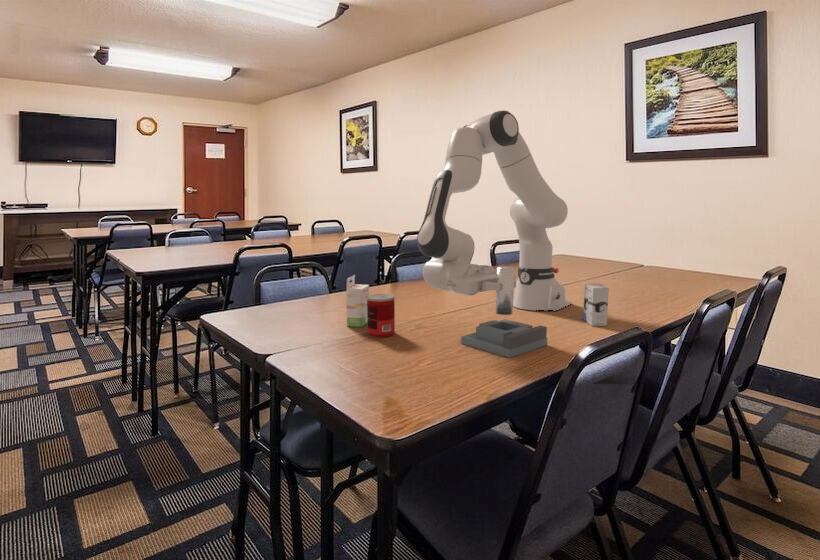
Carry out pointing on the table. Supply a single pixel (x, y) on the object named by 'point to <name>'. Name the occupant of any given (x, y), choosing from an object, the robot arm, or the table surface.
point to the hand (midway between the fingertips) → (507, 285)
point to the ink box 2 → (595, 304)
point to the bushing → (505, 290)
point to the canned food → (381, 315)
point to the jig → (506, 337)
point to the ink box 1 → (356, 303)
